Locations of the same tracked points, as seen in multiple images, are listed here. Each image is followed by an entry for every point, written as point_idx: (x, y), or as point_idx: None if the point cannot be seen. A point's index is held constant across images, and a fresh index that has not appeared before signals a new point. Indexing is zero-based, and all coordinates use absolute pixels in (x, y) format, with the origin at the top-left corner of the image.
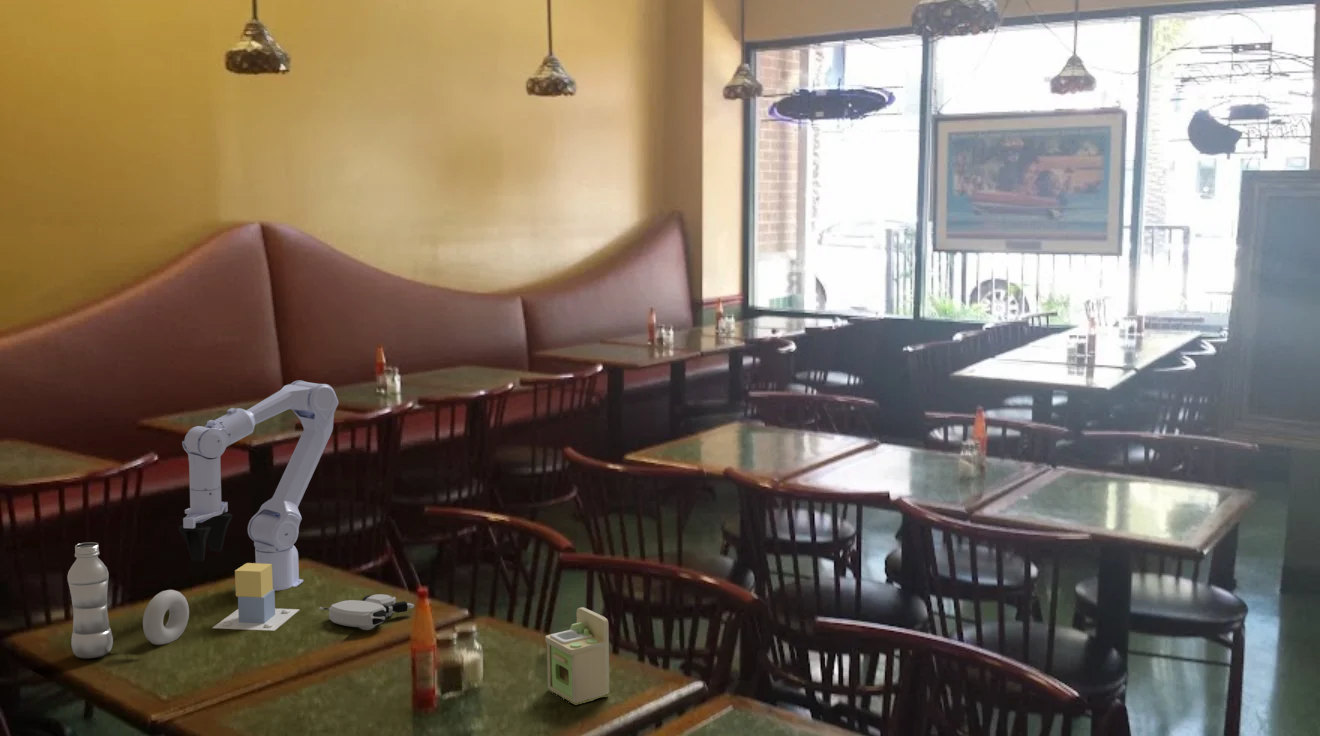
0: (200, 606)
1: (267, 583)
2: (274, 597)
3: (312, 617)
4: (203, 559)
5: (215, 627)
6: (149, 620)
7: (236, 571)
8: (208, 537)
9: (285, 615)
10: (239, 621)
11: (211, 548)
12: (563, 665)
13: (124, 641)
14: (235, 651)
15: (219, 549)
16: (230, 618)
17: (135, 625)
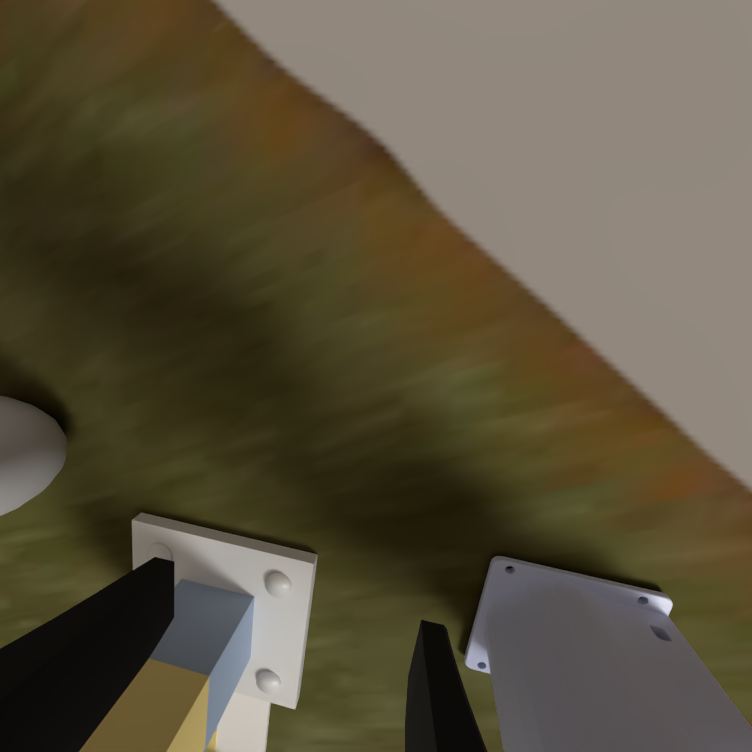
0: (368, 424)
1: None
2: (220, 716)
3: (270, 721)
4: (162, 627)
5: (136, 527)
6: None
7: None
8: (433, 733)
9: (244, 680)
10: (179, 582)
11: (418, 645)
12: None
13: (38, 287)
14: (33, 585)
15: (408, 687)
16: (211, 552)
17: (171, 263)
